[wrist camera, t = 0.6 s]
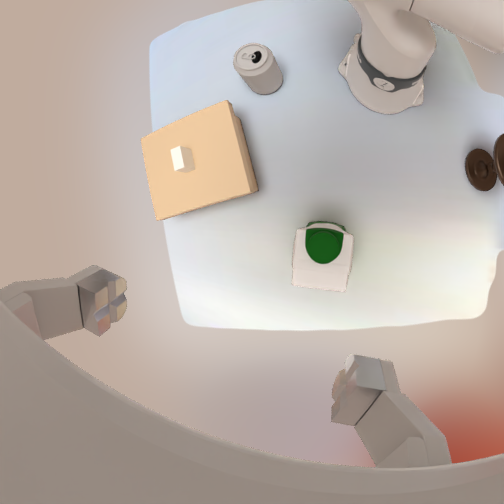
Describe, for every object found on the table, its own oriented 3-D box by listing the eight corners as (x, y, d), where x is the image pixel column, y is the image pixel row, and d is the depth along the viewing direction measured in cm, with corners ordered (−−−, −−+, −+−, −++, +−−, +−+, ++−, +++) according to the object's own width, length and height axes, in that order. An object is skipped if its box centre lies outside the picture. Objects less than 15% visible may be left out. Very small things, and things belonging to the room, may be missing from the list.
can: (280, 97, 49) (267, 73, 38) (246, 94, 51) (225, 71, 39) (286, 68, 47) (274, 40, 36) (252, 66, 49) (234, 39, 38)
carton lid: (147, 140, 51) (128, 135, 45) (231, 104, 45) (218, 92, 39) (163, 219, 53) (144, 222, 47) (254, 192, 47) (242, 191, 41)
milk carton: (348, 222, 50) (360, 233, 31) (343, 267, 52) (349, 303, 33) (304, 217, 52) (289, 225, 33) (300, 262, 54) (283, 295, 35)
